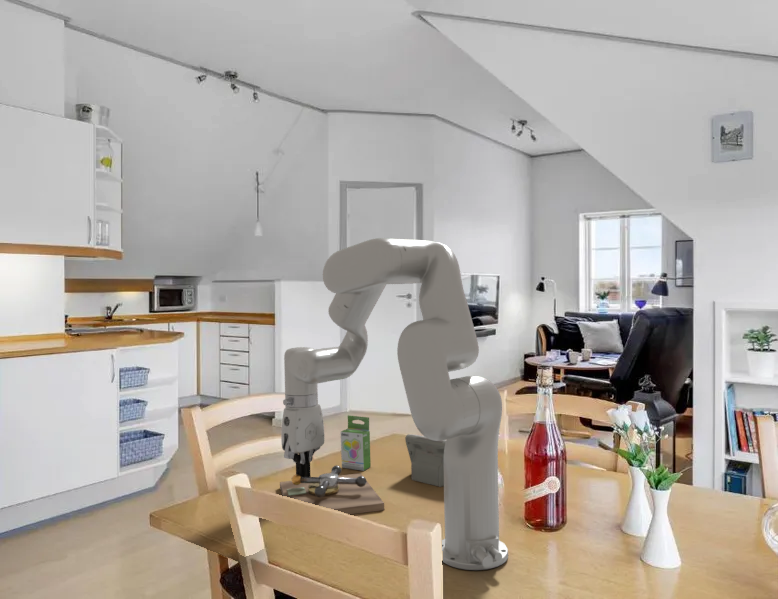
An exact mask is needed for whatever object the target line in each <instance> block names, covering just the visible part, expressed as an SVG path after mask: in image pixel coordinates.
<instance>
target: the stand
mask: <svg viewBox="0 0 778 599" xmlns="http://www.w3.org/2000/svg"><path fill="white" fill-rule="evenodd" d="M359 476H364V475H363V474H362V473H353V474H351V473H350V474H344V475H343V474H340V475H338V478H357V477H359ZM310 484H311V483H301V484H299V485H294V484H293V483H292V480H286V481H280V482H279V490H280V492H281V496H282V495H283V496H287V497H290V498H294V499H298V500H301V501H304V502H308V503H312V504H315V505H319V506H323V507H326V508H331V509H334V510H338V511H341V512H344V513H348V515H355V514H363V513H364V514H365V513H372V512H378V511H379V512H380V511H385V502H384V501H383V500H382V498H381V497H380V496H379V495H378V493H377V492H376V491H375V489H374V488H373V486H372V485H371V484H370V483H369V482H368V481H367V480H366V485H365V486H363V487H359V486H357V485H354V484H339V491H338V492H336V493H334V494H330V495H324V496H323V497H321V498H319V497H317V496H316V495H313V494H311V493H309V492H308V486H309V485H310ZM283 496H282V497H283Z"/></svg>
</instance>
